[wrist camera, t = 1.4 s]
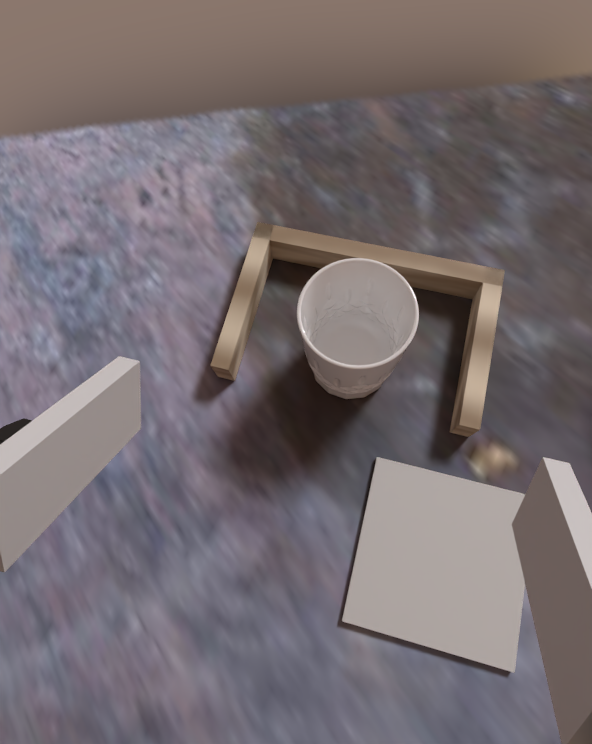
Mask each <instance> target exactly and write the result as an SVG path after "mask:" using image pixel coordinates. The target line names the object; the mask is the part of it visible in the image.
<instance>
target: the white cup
mask: <svg viewBox="0 0 592 744" xmlns="http://www.w3.org/2000/svg"><path fill="white" fill-rule="evenodd" d="M418 320H419V309H418V303H417V299H416V296H415V294H414V292H413V290H412V288H411V286H410V285H409V283H408V282H407V281H406V280H405V278H404V277H403V276H402V275H401V274H399V273H398V272H397V271H396V270H394V269H393V268H391V267H389V266H388V265H386V264H383V263H381V262H378V261H375V260H371V259H364V258H350V259H344V260H340V261H336V262H333V263H331V264H329V265H327V266H325V267H323V268H322V269H320V270H319V271H318V272H316V273H315V274H314V275H313V276H312V277H311V278H310V279H309V281H308V282H307V283H306V285H305V286H304V288H303V290H302V292H301V294H300V297H299V301H298V306H297V321H298V326H299V329H300V333H301V337H302V342H303V346H304V350H305V354H306V357H307V360H308V363H309V365H310V367H311V369H312V372H313V375H314V377H315V380H316V381H317V382H318V383H319V384H320V385H321V386H322V387H323V388H324V389H325V390H326V391H327V392H328V393H329V394H332V395H335V396H338V397H341V398H344V399H353V398H363V397H366V396H367V395H369V394H371V393H372V392H374V391H376V390H377V389H379V388H380V387H381V385H382V384H383V382H384V381H385V379H387V378H388V376H389V375H390V374H391V373H392V371H393V370H394V368H395V367H396V365H397V364H398V363H399V361H400V359H401V357H402V356H403V354H404V352H405V351H406V349H407V347H408V346H409V344H410V342H411V341H412V339H413V337H414V335H415V332H416V330H417V326H418Z"/></svg>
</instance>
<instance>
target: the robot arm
mask: <svg viewBox="0 0 592 744" xmlns="http://www.w3.org/2000/svg"><path fill="white" fill-rule="evenodd" d="M140 429H141V398H140V361H137V360H132V359H128V358H124V357H120V356H119V357H118V358H116V359H115V360H113V361H112V362H111V363H109V364H108V365H107V366H105V367H104V368H103V369H101V370H100V371H99V372H97V373H96V374H95V375H93V376H92V377H91V378H89V379H88V380H87V381H85V382H84V383H83V384H81V385H80V386H78V387H77V388H76V389H74V390H73V391H72V392H70V393H69V394H68V395H66V396H65V397H64V398H62V399H61V400H60V401H58V402H57V403H56V404H54V405H53V406H52V407H50V408H49V409H47V410H46V411H45V412H43V413H42V414H41V415H39V416H38V417H37V418H35V419H34V420H33V421H31V420H28V419H21V420H19V421H16V422H13V423H11V424H8V425H6V426H4V427H2V428H1V429H0V571H2V572H6V570H7V569H8V568H9V567H10V566H11V565H12V564H13V563H14V562H15V561H16V560H17V559H18V558H19V557H20V556H21V555H22V554H23V553H24V551H25V550H26V549H27V548H28V547H29V546H30V545H31V544H32V543H33V542H34V541H35V540H36V539H37V538H38V537H39V536H40V535H41V534H42V532H43V531H44V530H45V529H46V528H47V527H48V526H49V525H50V524H51V523H52V522H53V521H54V520H55V519H56V518H57V517H58V516H59V515H60V513H61V512H62V511H63V510H64V509H65V508H66V507H67V506H68V505H69V504H70V503H71V502H72V501H73V500H74V499H75V498H76V497H77V495H78V494H79V493H80V492H81V491H82V490H83V489H84V488H85V487H86V486H87V485H88V484H89V483H90V482H91V481H92V480H93V479H94V478H95V476H96V475H97V474H98V473H99V472H100V471H101V470H102V469H103V468H104V467H105V466H106V465H107V464H108V463H109V462H110V461H111V460H112V459H113V457H114V456H115V455H116V454H117V453H118V452H119V451H120V450H121V449H122V448H123V447H124V446H125V445H126V444H127V443H128V442H129V441H130V439H131V438H132V437H133V436H134V435H135V434H136V433H137V432H138V431H139V430H140ZM512 528H513V532H514V537H515V541H516V545H517V550H518V554H519V559H520V563H521V567H522V572H523V576H524V581H525V585H526V589H527V594H528V598H529V603H530V607H531V611H532V616H533V620H534V625H535V629H536V633H537V638H538V642H539V647H540V651H541V655H542V660H543V664H544V668H545V673H546V677H547V682H548V686H549V690H550V695H551V699H552V704H553V708H554V712H555V717H556V721H557V726H558V730H559V734H560V739H561V743H562V744H592V513H591V511H590V508H589V506H588V504H587V502H586V499H585V497H584V495H583V493H582V490H581V488H580V486H579V484H578V481H577V479H576V477H575V475H574V472H573V470H572V468H571V466H570V463H566V462H562V461H557V460H553V459H549V458H545V457H543V458H542V460H541V462H540V464H539V466H538V469H537V471H536V473H535V475H534V477H533V479H532V481H531V484H530V486H529V488H528V490H527V492H526V494H525V497H524V499H523V501H522V503H521V505H520V507H519V509H518V512H517V514H516V516H515V518H514V520H513V522H512Z"/></svg>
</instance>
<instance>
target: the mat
mask: <svg viewBox="0 0 592 744" xmlns="http://www.w3.org/2000/svg"><path fill="white" fill-rule="evenodd" d="M524 497H525V494H522V493H518V492H514V491H510V490H506V489H502V488H498V487H494V486H490V485H486V484H482V483H478V482H474V481H470V480H466V479H462V478H458V477H454V476H450V475H446V474H442V473H438V472H435V471H431V470H427V469H423V468H419V467H415V466H411V465H407V464H403V463H399V462H395V461H391V460H387V459H383V458H379V457H377V458H376V462H375V467H374V472H373V476H372V481H371V486H370V490H369V495H368V500H367V504H366V509H365V514H364V518H363V523H362V528H361V533H360V537H359V542H358V547H357V551H356V556H355V561H354V565H353V570H352V575H351V579H350V584H349V589H348V593H347V598H346V603H345V608H344V612H343V617H342V621H343V622H346V623H350V624H353V625H356V626H360V627H363V628H366V629H370V630H373V631H376V632H380V633H383V634H386V635H390V636H393V637H396V638H400V639H403V640H407V641H410V642H413V643H417V644H420V645H423V646H427V647H430V648H433V649H437V650H440V651H443V652H447V653H450V654H453V655H457V656H460V657H463V658H467V659H470V660H473V661H477V662H480V663H483V664H487V665H490V666H494V667H497V668H500V669H504V670H507V671H510V672H514V673H515V665H516V656H517V648H518V639H519V631H520V622H521V613H522V605H523V596H524V588H525V581H524V576H523V572H522V567H521V563H520V559H519V554H518V550H517V545H516V541H515V537H514V532H513V528H512V522H513V520H514V518H515V516H516V514H517V512H518V509H519V507H520V505H521V503H522V501H523V499H524Z"/></svg>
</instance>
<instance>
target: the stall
mask: <svg viewBox="0 0 592 744" xmlns="http://www.w3.org/2000/svg"><path fill="white" fill-rule="evenodd" d="M350 258H364V259H371V260H375V261H378V262H381V263H383V264H386V265H388V266H389V267H391V268H393V269H394V270H396V271H397V272H398V273H399V274H401V275H402V276H403V277H404V278H405V280H406V281H407V282H408V283H409V285H410V286H411V287H415V288H420V289H425V290H430V291H435V292H440V293H444V294H449V295H454V296H459V297H464V298H469V299H472V305H471V311H470V317H469V322H468V328H467V334H466V340H465V346H464V351H463V357H462V363H461V369H460V374H459V380H458V386H457V392H456V398H455V403H454V409H453V415H452V421H451V427H450V433H454V434H458V435H463V436H467V437H469V436H471V435H472V434H474V433H476V432H477V431H479V430H480V426H481V420H482V413H483V407H484V400H485V394H486V387H487V381H488V375H489V368H490V362H491V355H492V349H493V342H494V336H495V329H496V323H497V316H498V310H499V304H500V297H501V291H502V284H503V278H504V271H505V270H501V269H496V268H491V267H485V266H480V265H475V264H470V263H465V262H460V261H455V260H450V259H444V258H439V257H434V256H429V255H424V254H419V253H414V252H408V251H403V250H398V249H393V248H388V247H383V246H378V245H373V244H367V243H362V242H357V241H352V240H347V239H342V238H337V237H331V236H326V235H321V234H316V233H311V232H306V231H301V230H296V229H290V228H285V227H280V226H275V225H270V224H265V223H260V222H257V225H256V228H255V231H254V234H253V237H252V240H251V243H250V246H249V250H248V253H247V256H246V259H245V262H244V265H243V268H242V271H241V274H240V277H239V280H238V283H237V286H236V289H235V292H234V295H233V298H232V301H231V304H230V307H229V310H228V313H227V316H226V319H225V322H224V325H223V329H222V332H221V335H220V338H219V341H218V344H217V347H216V350H215V353H214V356H213V359H212V362H211V365H210V366H211V367H212V369H213V370H214V372H215V373H216V374H217V376H218V377H221V378H225V379H230V380H234V381H235V379H236V376H237V373H238V370H239V366H240V363H241V360H242V357H243V353H244V350H245V347H246V344H247V341H248V337H249V334H250V331H251V328H252V324H253V321H254V318H255V315H256V312H257V308H258V305H259V302H260V299H261V296H262V292H263V289H264V286H265V283H266V279H267V276H268V273H269V270H270V267H271V263H272V260H273V259H278V260H283V261H288V262H293V263H297V264H302V265H307V266H312V267H317V268H323V267H325V266H327V265H329V264H331V263H333V262H336V261H340V260H344V259H350Z"/></svg>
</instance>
